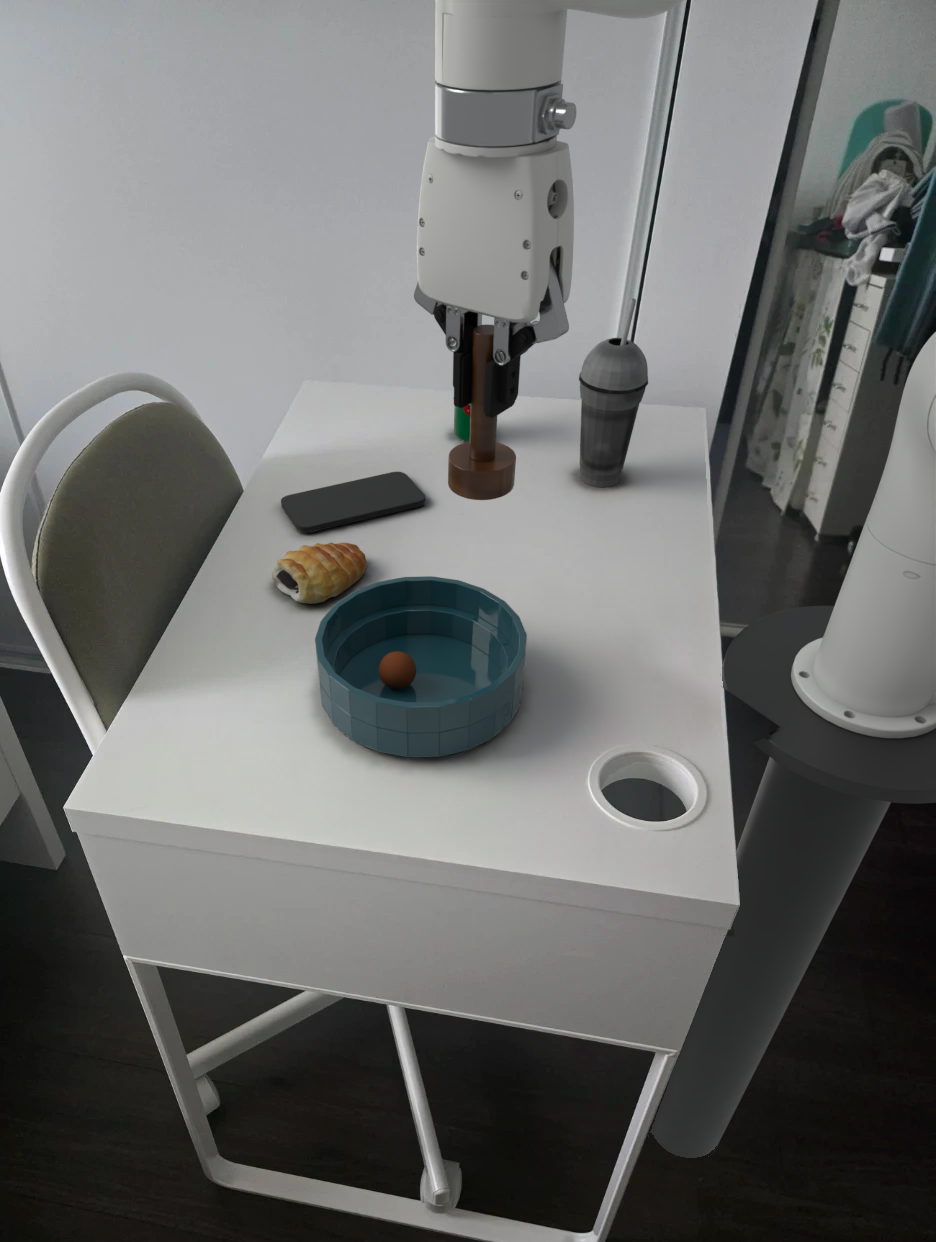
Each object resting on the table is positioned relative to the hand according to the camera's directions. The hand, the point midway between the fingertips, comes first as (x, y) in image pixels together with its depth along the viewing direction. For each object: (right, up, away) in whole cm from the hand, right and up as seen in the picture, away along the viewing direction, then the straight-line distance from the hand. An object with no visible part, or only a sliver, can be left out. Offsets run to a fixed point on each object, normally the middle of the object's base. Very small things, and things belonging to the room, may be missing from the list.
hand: (484, 404), depth 70 cm
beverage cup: (+17, +4, +38) cm, 42 cm away
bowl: (-4, -21, +11) cm, 24 cm away
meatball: (-6, -19, +10) cm, 23 cm away
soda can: (+3, +11, +46) cm, 48 cm away
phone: (-11, 0, +34) cm, 36 cm away
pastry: (-14, -10, +24) cm, 29 cm away
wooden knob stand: (0, -5, +4) cm, 7 cm away
